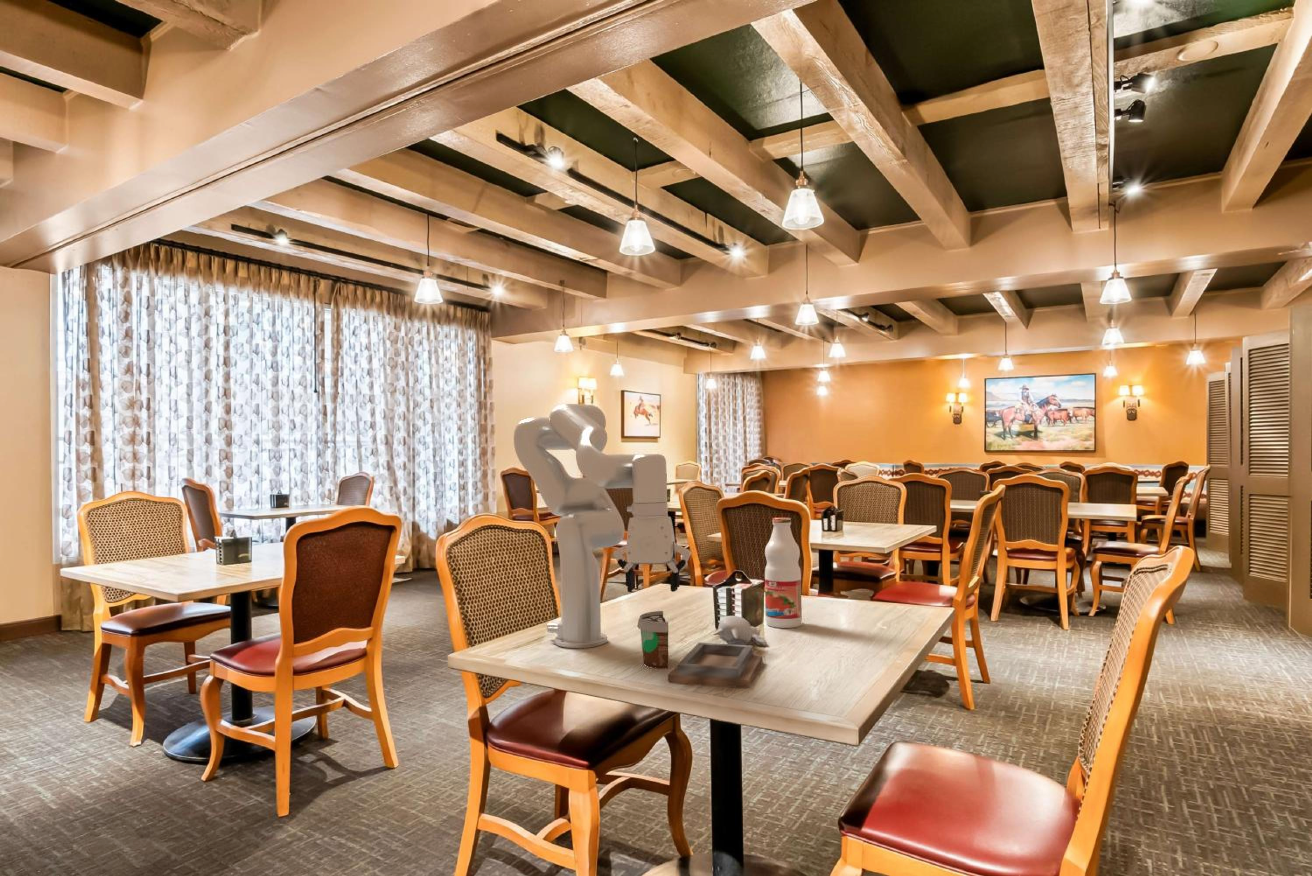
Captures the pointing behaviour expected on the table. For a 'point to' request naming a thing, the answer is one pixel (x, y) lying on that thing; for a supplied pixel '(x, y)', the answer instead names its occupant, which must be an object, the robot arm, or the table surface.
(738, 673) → the square wooden tray
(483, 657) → the table surface
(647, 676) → the table surface
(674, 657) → the table surface
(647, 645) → the food container
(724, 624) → the toy creature
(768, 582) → the fruit juice
